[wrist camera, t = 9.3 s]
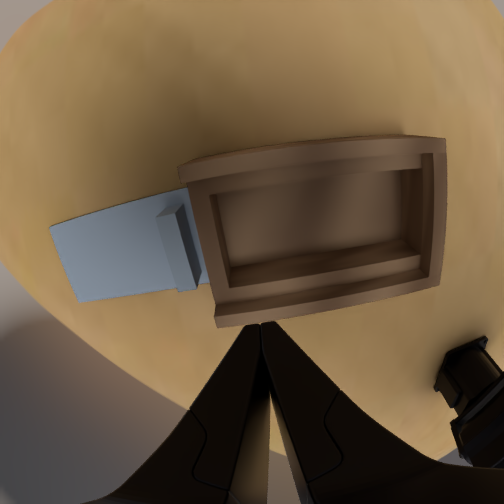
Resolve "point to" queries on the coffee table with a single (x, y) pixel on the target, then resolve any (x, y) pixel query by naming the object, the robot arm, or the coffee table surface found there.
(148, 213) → the cover plate
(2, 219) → the coffee table surface
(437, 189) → the pencil box
